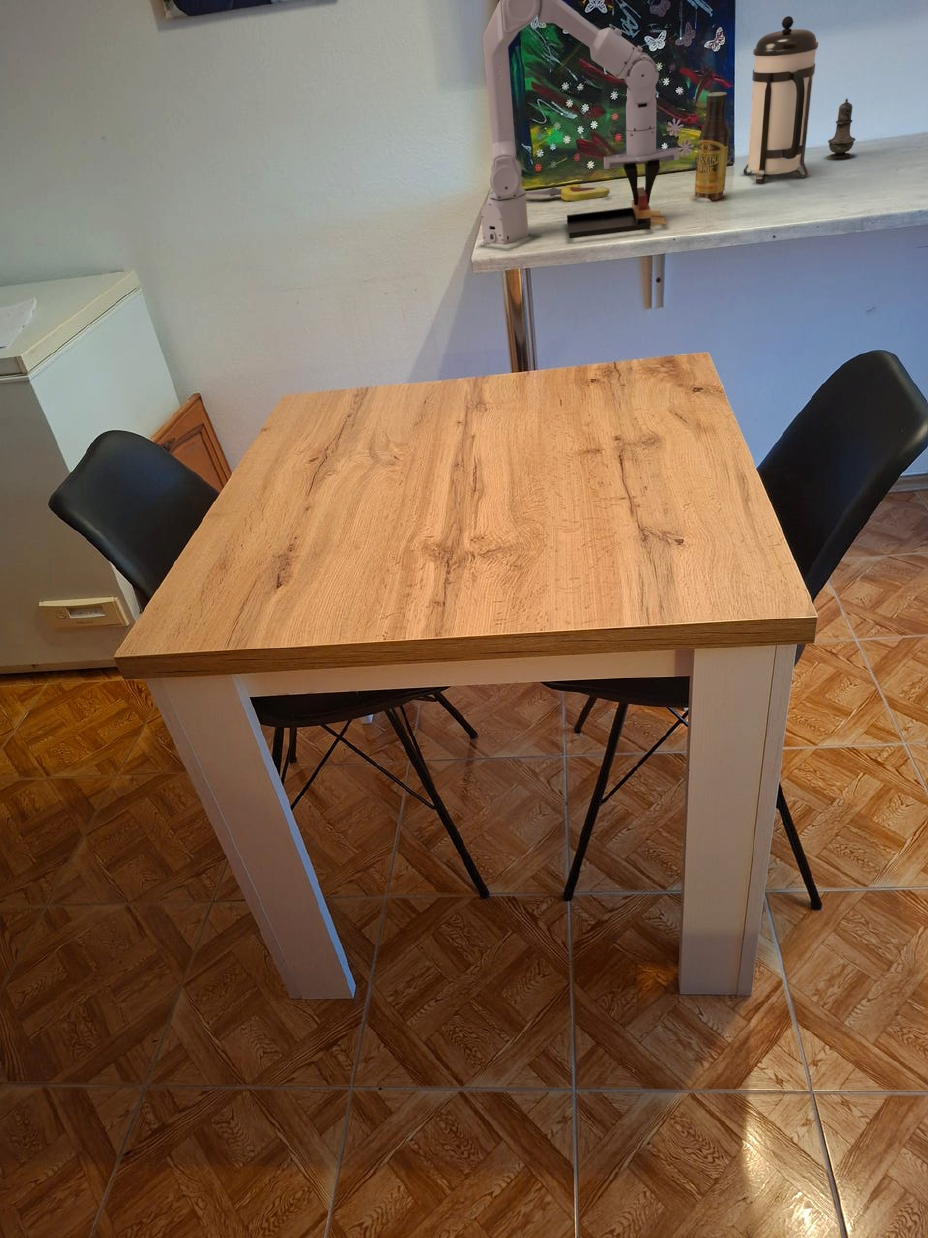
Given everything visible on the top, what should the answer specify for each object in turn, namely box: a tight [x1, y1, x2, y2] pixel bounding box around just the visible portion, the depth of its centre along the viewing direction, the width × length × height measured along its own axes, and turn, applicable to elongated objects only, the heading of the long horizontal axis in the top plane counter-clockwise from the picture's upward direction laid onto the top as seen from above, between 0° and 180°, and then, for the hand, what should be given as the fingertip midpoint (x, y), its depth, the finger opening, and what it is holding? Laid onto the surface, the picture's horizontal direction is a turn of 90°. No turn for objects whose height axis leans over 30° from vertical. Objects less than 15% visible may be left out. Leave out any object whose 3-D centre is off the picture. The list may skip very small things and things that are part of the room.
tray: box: [566, 206, 651, 239], centre depth 180 cm, size 16×14×2 cm
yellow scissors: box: [525, 184, 611, 202], centre depth 205 cm, size 8×3×25 cm
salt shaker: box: [827, 97, 856, 161], centre depth 199 cm, size 6×6×12 cm
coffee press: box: [742, 15, 819, 185], centre depth 187 cm, size 17×16×30 cm
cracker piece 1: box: [651, 210, 663, 218], centre depth 181 cm, size 3×4×1 cm
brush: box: [631, 186, 653, 224], centre depth 177 cm, size 3×10×5 cm, turn 177°
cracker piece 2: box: [650, 217, 667, 227], centre depth 176 cm, size 3×4×1 cm
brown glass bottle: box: [694, 91, 730, 202], centre depth 183 cm, size 6×6×20 cm
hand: (641, 203), depth 177 cm, fingers closed on brush
